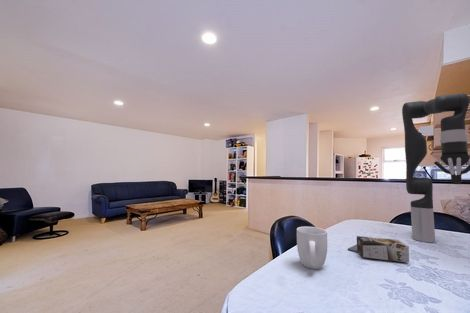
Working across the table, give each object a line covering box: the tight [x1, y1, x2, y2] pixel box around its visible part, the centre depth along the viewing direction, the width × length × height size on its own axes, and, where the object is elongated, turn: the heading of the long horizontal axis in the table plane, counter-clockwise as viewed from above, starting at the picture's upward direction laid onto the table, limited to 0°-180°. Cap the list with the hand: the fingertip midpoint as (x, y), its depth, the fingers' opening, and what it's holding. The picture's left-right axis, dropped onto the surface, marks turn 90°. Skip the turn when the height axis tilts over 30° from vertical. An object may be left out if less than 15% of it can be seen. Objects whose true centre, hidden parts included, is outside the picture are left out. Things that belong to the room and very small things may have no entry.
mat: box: [347, 243, 392, 262], centre depth 97 cm, size 18×16×1 cm
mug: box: [296, 226, 328, 270], centre depth 79 cm, size 15×11×13 cm
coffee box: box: [356, 235, 410, 263], centre depth 89 cm, size 9×6×16 cm
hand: (456, 184), depth 86 cm, fingers closed
